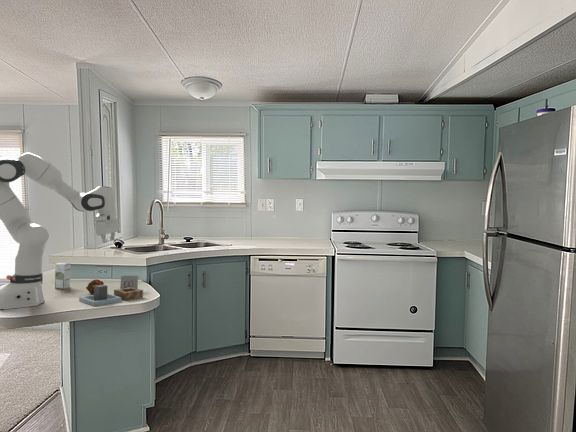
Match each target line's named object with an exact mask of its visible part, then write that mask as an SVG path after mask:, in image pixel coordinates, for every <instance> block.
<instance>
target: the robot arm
mask: <svg viewBox="0 0 576 432" xmlns="http://www.w3.org/2000/svg"><path fill="white" fill-rule="evenodd" d="M62 175H63V174H62V172H61V171H60V170H59V169H58V167H56V166H55V165H53V164H52V163H50V162H49V161H47V160H46V159H44V158H42V157H40V156H39V155H36V154H35V153H32V152H24V153H23V154H21V155H20V156H19V157H18V158H17V159H13V158H9V157H8V156H0V220H1V221H2V223H3V225H4V226H5V228H6V230H7V232H8V233H9V234H10V236H11V237H12V239H13V240H14V241H15V242H16V243H17V244H19V245H18V250H17V254H16V256H15V258H14V274H13V275H10V274H8V275H6V276H5V279H6V280H8V281H9V283H7V284H6V285H5V286H3V287H2V288H0V309H4V310H10V309H20V308H28V307H37V306H38V305H39V306H40V304H42V303H45V297H44V294H43V287H42V285H43V278H44V277H43V275H44V274H43V272H42V271H43V268H42V267H43V255H44V251H45V248H46V243H47V242H48V240H49V236H50V234H49V231H48V230H47V229H46V227H44V226H43V225H41V224H38V223H35V222H33V221H32V219H31V218H30V217H31V216H30V215H29V214H28V211H27V208H26V207H25V205H24V204H23V203H22V202H21V200H20V199H19V198H18V196H17V194H15V192H14V191H13V190H12V188H11V187H10V183H12V182H15V181H16V180H18V179H20V178H21V177H23V176H25V177H28V178H29V179H31V180H32V181H34V182H35V183H37V184H39V185H41V186H43V187H45V188H47V189H50V190H53V191H54V192H55V193H58V194H59V195H60V196H62V197H63V198H65V199H66V200H68V202H70V204H71V205H72V207H73V208H74V209H75V210H77V211H78V212H94V211H97V213H96V215H95V216H94V217H93V220H94V224H95V225H94V228H95V234H96V235H97V236H100V237H101V242H102V243H103V244H106V243H107V242H108V239H107V235H109V234H110V237H109V241H114V240H115V238H116V236H115V235H116V232H118V231H119V221H118V218H117V214H116V213H117V212H116V208H115V204H116V201H115V199H116V198H115V197H116V196H115V192H114V190H113V188H112V187H110V186H106V185H105V186H104V185H99V186H97V187H96V188H95V189H92V190H91V191H88V192H80V191H78V190H76V189H75V188H73V187H72V186H70V185H69V184H68V183H67V182H65V181H64V179H63V176H62Z"/></svg>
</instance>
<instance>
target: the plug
mask: <svg viewBox="0 0 576 432" xmlns="http://www.w3.org/2000/svg"><path fill="white" fill-rule="evenodd" d="M107 293H108V285H106V284H104V285H95V286H94V294H93V295H94V299H93V301H100V300H106V299H108V298H107Z"/></svg>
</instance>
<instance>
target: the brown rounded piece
mask: <svg viewBox="0 0 576 432" xmlns="http://www.w3.org/2000/svg"><path fill="white" fill-rule="evenodd" d="M95 285H105V283H104V282H103V281H102V280H100V279H97V278H96V279H93V280H91V282H89V283H87V286H86V287H85V289H86V290H87V291H88V292H89V293H90V294H91V295H94V286H95Z"/></svg>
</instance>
